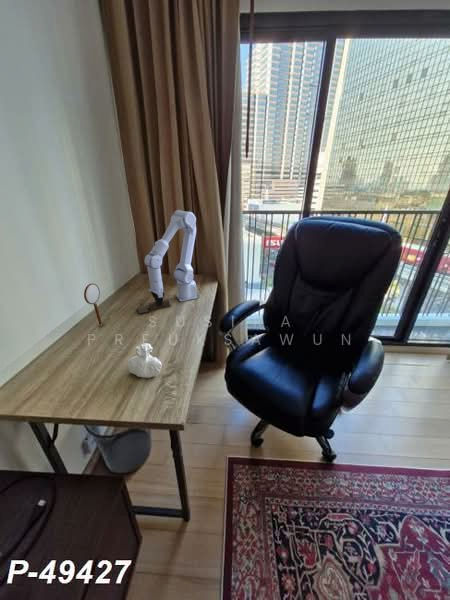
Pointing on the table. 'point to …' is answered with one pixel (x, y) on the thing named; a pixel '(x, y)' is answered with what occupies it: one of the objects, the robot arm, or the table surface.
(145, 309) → the spatula
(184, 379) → the table surface
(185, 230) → the robot arm
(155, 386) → the table surface
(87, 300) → the magnifying glass
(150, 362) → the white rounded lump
